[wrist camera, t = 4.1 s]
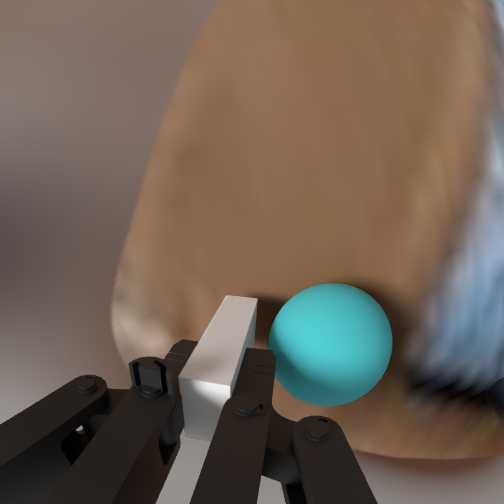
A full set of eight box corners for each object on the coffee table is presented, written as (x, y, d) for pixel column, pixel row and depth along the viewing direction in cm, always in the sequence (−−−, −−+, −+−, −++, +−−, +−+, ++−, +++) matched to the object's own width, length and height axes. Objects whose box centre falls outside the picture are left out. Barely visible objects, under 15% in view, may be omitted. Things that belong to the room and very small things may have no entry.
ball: (383, 271, 14) (427, 318, 9) (362, 363, 15) (385, 430, 10) (276, 263, 15) (269, 309, 9) (267, 357, 16) (257, 427, 10)
